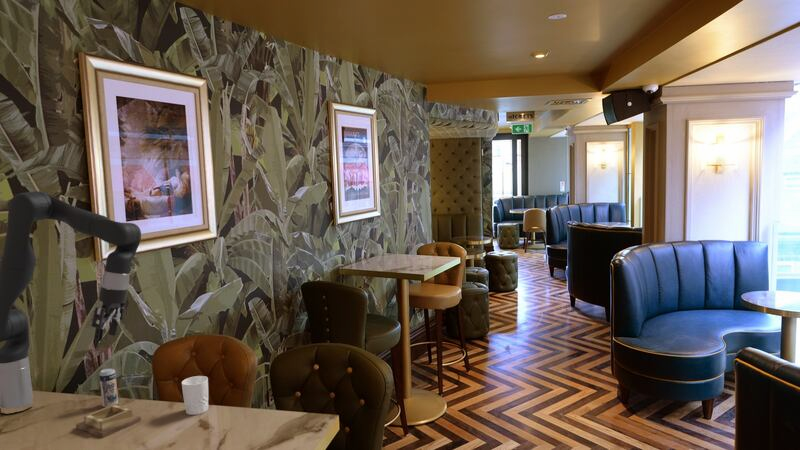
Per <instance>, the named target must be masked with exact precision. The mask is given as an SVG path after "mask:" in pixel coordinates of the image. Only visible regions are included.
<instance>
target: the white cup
mask: <svg viewBox="0 0 800 450" xmlns="http://www.w3.org/2000/svg"><path fill="white" fill-rule="evenodd" d="M181 387H182V395H183V402H184V403H183V404H184V407H185V412H186V415H190V416H191V415H192V416H196V415H201V414H204V413H205V412H207V411H208V410H209V378H208V376H204V375H196V376H191V377H187V378H185V379H184V380H182V381H181Z"/></svg>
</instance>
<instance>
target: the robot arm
mask: <svg viewBox="0 0 800 450" xmlns="http://www.w3.org/2000/svg"><path fill="white" fill-rule="evenodd" d="M42 220H54V221H60V222H63V223H64V224H66V225H68V226H69V227H70V228H72V229H73V230H74V231H76V232H79V233H81V234H83V235H87V236H91V237H93V238H98V239H99V240H101V241H103V242H106V243H107V244H111V245H114V246H116V247H115V249H114V250H113V251H112V252H110V253H109V254H108V255H107V258H106V262H105V268H104V272H103V275H102V279H101V284H100V289H99V296H98V300H99V301H100V302H102V304H101V307H98V306H96V307H95V309H94V314H93V318H92V323H91V327H92V328H95V331H94V335H93V336H94V337H93V340H94V341H95V342H102V341H103V339H104V334H105V328H106V325H107V324H109V323H110V324H109V328H108V329H109V330H108V335H110V336H116V335H117V333H118V328H119V324H120V323H121V321H124V316H125V309H126V300H127V295H128V290H129V284H130V274H131V269H132V264H133V263H132V262H133V259H134V257H135V255H136V253H137V250H138V248H139V247H140V246H139V245H140V243H141V239H142V231H141V228H140V227H139V226H138V225H137V224H136V223H133V222H120V221H116V220H111V219H110V218H109V217H107V216H105V215H102V214H100V213H95V212H92V211H89V210H85V209H82V208H79V207H77V206H74V205H72V204H70V203H68V202H65V201H64V200H61V199H59V198H57V197H55V196H52V195H51V194H50V193H47V192H45V191H44V192H43V191H40V190H39V191H38V190H37V191H36V190H35V191H26V192H21V193H17V194H15V195H14V196H12V198H11V200H10V202H9V205H8V211H7V222H6V223H7V224H6V233H5V239H4V245H3V246H4V247H3V251H2V255H1V259H0V343H2V342H5V343H3V345H2V346H1V347H0V407H2V408H6V409H11V408H20V407H24V406H27V405H30V404H31V403H32V402H33V403H34V397H33V396H34V395H33V387H32V386H33V385H32V379H31V369H30V361H29V360H30V359H29V349H30V325H29V321H28V317H27V315H26V313H25V312H24V311H23V310H21V309H18V308H14V309H12V308H13V306H14V305H15V302H16V301H17V299H19V298H20V296H21V295H22V293H23V292H24V291H25V290H26V289H27V288H28V286H29V284H30V283H31V282H32V280H33V276H34V271H35V268H36V263H37V258H36V254H35V252H34V249H33V247H32V245H31V240H30V235H31V232H32V231H31V230H32V227H33V224H34V222H38V221H42Z"/></svg>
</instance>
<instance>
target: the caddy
mask: <svg viewBox="0 0 800 450" xmlns="http://www.w3.org/2000/svg"><path fill="white" fill-rule="evenodd" d="M132 410H133V409H130V408H128V407H123V406H121V405H117V404H116V405H114V404H113V405H111V406H108V407H103V408H101V409H99V410H95V411H94V412H91V413H88V414H86V415H83V420H82V421H81V422H78V423H76V425H75V426H76V429H78V428H79V429H78V430H81V429H82V430H81V431H83V430H84V431H83V432H86V431H87V432H86V433H89V434H92V435H93V436H97V437H100V438H106V437H108V436H110V435H112V434H114V433H117V432H120V431H121V430H125V429H126V428H128V427H131V426H133V425H134V424H137V423H140V422H141V421H142V419H141V418H142V417H141V416H138V415H134V414H133V411H132Z"/></svg>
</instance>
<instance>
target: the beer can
mask: <svg viewBox="0 0 800 450" xmlns="http://www.w3.org/2000/svg"><path fill="white" fill-rule="evenodd" d="M99 382H100V383H99V384H100V385H99V386H100V394H101V395H100V396H101V403H102V405H101V406H102V407H103V408H106V407H108V406H111V405H113V404H114V405H117V404H119V397H118V396H119V395H118V386H117V374H116V370H115V369H114V368H111V367H110V368H104V369H102V370H100V372H99Z"/></svg>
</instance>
